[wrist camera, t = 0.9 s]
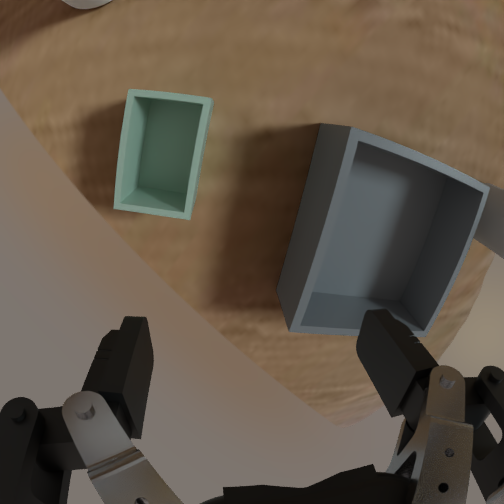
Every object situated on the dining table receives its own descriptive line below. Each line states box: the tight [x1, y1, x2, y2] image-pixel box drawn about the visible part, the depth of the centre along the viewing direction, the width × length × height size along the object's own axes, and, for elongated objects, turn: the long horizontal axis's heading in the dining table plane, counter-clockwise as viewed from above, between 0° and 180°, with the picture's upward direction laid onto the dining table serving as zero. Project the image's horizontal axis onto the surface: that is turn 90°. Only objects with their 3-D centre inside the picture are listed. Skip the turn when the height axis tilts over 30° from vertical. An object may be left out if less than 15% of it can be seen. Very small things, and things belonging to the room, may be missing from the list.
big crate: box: [276, 123, 490, 337], centre depth 27 cm, size 18×17×7 cm
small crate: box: [114, 89, 214, 220], centre depth 23 cm, size 9×6×6 cm, turn 168°
